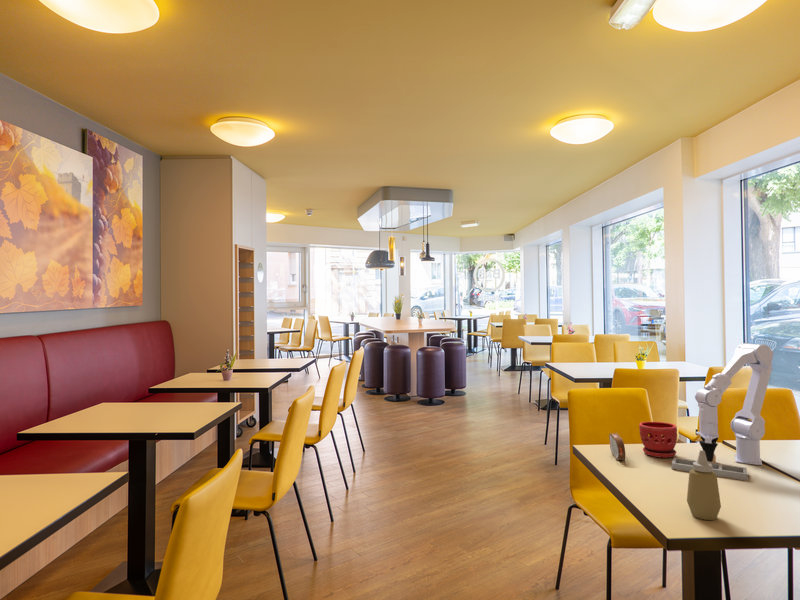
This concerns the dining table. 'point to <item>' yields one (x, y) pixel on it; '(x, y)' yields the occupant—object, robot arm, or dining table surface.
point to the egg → (713, 459)
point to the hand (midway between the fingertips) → (709, 458)
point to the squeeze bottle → (703, 490)
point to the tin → (617, 446)
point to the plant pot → (658, 438)
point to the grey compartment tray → (717, 469)
